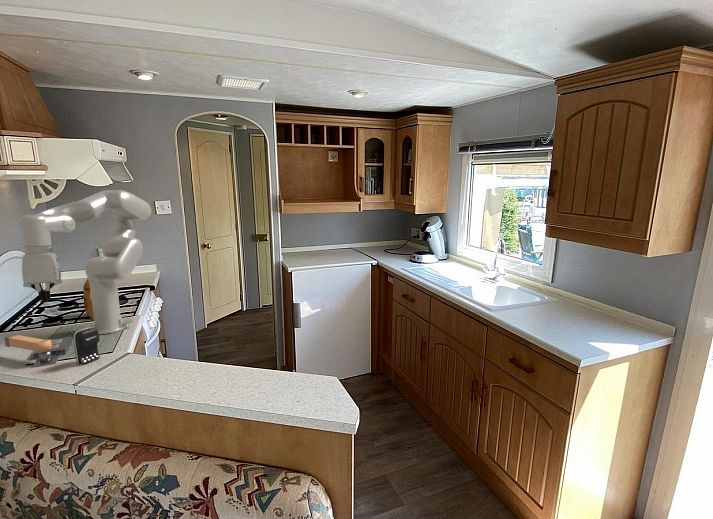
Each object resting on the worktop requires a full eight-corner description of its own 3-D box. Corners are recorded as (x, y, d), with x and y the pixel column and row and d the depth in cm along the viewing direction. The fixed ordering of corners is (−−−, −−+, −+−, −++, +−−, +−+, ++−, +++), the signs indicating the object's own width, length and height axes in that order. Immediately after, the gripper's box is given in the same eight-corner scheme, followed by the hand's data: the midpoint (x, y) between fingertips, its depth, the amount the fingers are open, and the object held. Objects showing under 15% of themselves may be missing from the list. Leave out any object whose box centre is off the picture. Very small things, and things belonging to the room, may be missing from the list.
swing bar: (18, 342, 137) (16, 333, 137) (55, 349, 130) (53, 339, 130) (4, 346, 134) (3, 337, 133) (42, 353, 127) (40, 343, 126)
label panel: (72, 341, 150) (71, 336, 149) (65, 354, 137) (64, 348, 136) (43, 345, 145) (42, 340, 145) (33, 359, 132) (32, 353, 132)
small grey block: (59, 357, 134) (57, 346, 133) (55, 363, 129) (54, 352, 128) (37, 361, 131) (35, 350, 130) (32, 367, 126) (31, 355, 125)
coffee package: (88, 321, 177) (82, 274, 174) (84, 315, 186) (78, 271, 183) (113, 316, 184) (108, 271, 180) (108, 311, 193) (103, 268, 190)
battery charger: (83, 366, 126) (79, 333, 124) (75, 365, 127) (71, 332, 126) (103, 358, 133) (100, 326, 131) (95, 357, 134) (92, 325, 132)
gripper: (66, 248, 140) (72, 296, 143) (13, 251, 133) (21, 302, 135) (63, 250, 133) (69, 301, 136) (7, 253, 126) (15, 307, 129)
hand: (45, 301), depth 136 cm, fingers closed
